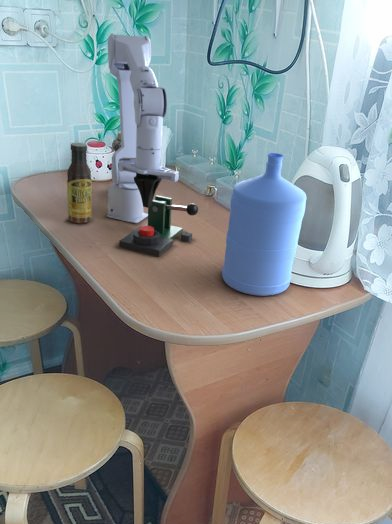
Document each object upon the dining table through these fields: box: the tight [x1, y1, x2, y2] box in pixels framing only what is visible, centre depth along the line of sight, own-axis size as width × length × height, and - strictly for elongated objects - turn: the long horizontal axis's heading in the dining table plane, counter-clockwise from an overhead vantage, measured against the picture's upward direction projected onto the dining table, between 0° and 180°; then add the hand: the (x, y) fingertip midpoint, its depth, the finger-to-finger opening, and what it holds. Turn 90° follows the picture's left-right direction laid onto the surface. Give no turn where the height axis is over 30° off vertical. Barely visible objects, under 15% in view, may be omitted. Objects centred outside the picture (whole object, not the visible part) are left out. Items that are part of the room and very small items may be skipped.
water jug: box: [221, 152, 307, 297], centre depth 110 cm, size 16×16×28 cm
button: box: [138, 225, 154, 237], centre depth 127 cm, size 4×4×2 cm
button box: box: [118, 228, 174, 258], centre depth 128 cm, size 11×8×4 cm
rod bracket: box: [135, 194, 184, 241], centre depth 134 cm, size 10×9×9 cm
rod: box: [156, 200, 199, 217], centre depth 131 cm, size 12×3×3 cm, turn 68°
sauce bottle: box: [66, 142, 92, 224], centre depth 135 cm, size 6×6×20 cm
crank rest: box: [179, 231, 193, 243], centre depth 134 cm, size 2×2×2 cm
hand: (147, 206), depth 123 cm, fingers closed
